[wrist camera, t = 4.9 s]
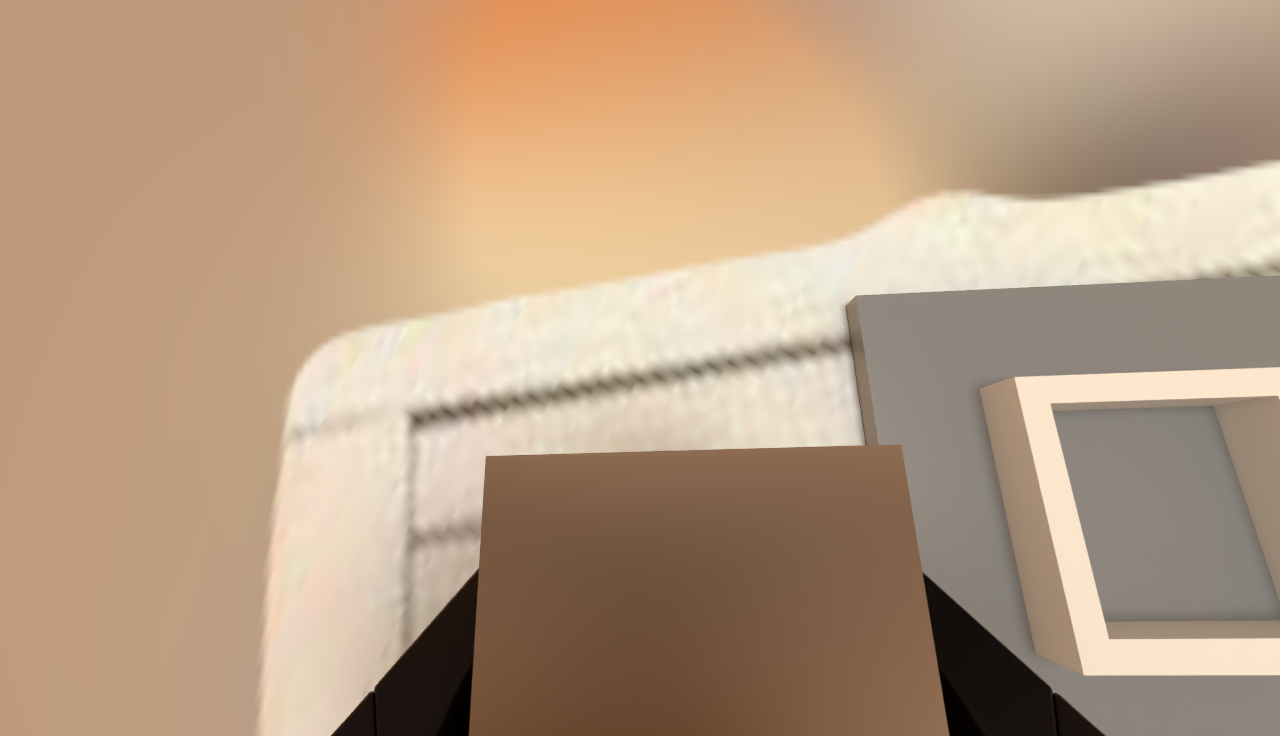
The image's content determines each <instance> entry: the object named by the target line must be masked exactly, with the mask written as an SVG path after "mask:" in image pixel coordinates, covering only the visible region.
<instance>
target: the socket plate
mask: <svg viewBox="0 0 1280 736" xmlns="http://www.w3.org/2000/svg"><path fill="white" fill-rule="evenodd" d="M846 309H847V316H848V323H849V330H850V337H851V344H852V351H853V358H854V364H855V371H856V378H857V385H858V392H859V399H860V406H861V413H862V420H863V426H864V433H865V440H866V445H900V444H901V445H902V451H903V457H904V464H905V470H906V476H907V482H908V488H909V494H910V500H911V506H912V512H913V518H914V524H915V530H916V536H917V542H918V549H919V555H920V561H921V567H922V571H923V572H924V573H925V574H926V575H927V576H928V577H929V578H930V579H931V580H933V581H934V582H935V583H936V584H937V585H938V586H939V587H940V588H941V589H943V590H944V591H945V592H946V593H947V594H948V595H949V596H950V597H951V598H953V599H954V600H955V601H956V602H957V603H958V604H959V605H960V606H961V607H963V608H964V609H965V610H966V611H967V612H968V613H969V614H970V615H971V616H973V617H974V618H975V619H976V620H977V621H978V622H979V623H980V624H981V625H983V626H984V627H985V628H986V629H987V630H988V631H989V632H990V633H992V634H993V635H994V636H995V637H996V638H997V639H998V640H999V641H1000V642H1002V643H1003V644H1004V645H1005V646H1006V647H1007V648H1008V649H1009V650H1010V651H1012V652H1013V653H1014V654H1015V655H1016V656H1017V657H1018V658H1019V659H1020V660H1022V661H1023V662H1024V663H1025V664H1026V665H1027V666H1028V667H1029V668H1030V669H1032V670H1033V671H1034V672H1035V673H1036V674H1037V675H1038V676H1039V677H1040V678H1042V679H1043V680H1044V681H1045V682H1046V683H1047V684H1048V685H1049V686H1050V687H1051V688H1052V690H1053V693H1058V694H1060V695H1061V696H1062V697H1063V698H1064V699H1065V700H1066V701H1067V702H1069V703H1070V704H1071V705H1072V706H1073V707H1074V708H1075V709H1076V710H1077V711H1079V712H1080V713H1081V714H1082V715H1083V716H1084V717H1085V718H1086V719H1088V720H1089V721H1090V722H1091V723H1092V724H1093V725H1094V726H1096V727H1097V728H1098V729H1099V730H1100V731H1101V732H1102V733H1104V734H1105V735H1106V736H1280V276H1262V277H1241V278H1220V279H1198V280H1177V281H1156V282H1135V283H1114V284H1093V285H1072V286H1051V287H1029V288H1008V289H987V290H966V291H945V292H924V293H903V294H882V295H860V296H855V297H854V298H853V299H852V301H851V302H850V303H849V304H848V305H847V306H846Z"/></svg>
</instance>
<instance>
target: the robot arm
mask: <svg viewBox="0 0 1280 736" xmlns="http://www.w3.org/2000/svg"><path fill="white" fill-rule="evenodd" d="M922 573H923V579H924V585H925V591H926V597H927V603H928V609H929V615H930V621H931V627H932V633H933V640H934V646H935V652H936V658H937V664H938V670H939V676H940V682H941V688H942V694H943V700H944V706H945V712H946V718H947V725H948V731H949V736H1106V735H1105V734H1104V733H1102V732H1101V731H1100V730H1099V729H1098V728H1097V727H1096V726H1094V725H1093V724H1092V723H1091V722H1090V721H1089V720H1088V719H1086V718H1085V717H1084V716H1083V715H1082V714H1081V713H1080V712H1079V711H1077V710H1076V709H1075V708H1074V707H1073V706H1072V705H1071V704H1070V703H1069V702H1067V701H1066V700H1065V699H1064V698H1063V697H1062V696H1061V695H1060V694H1058V693H1053V690H1052V688H1051V687H1050V686H1049V685H1048V684H1047V683H1046V682H1045V681H1044V680H1043V679H1042V678H1040V677H1039V676H1038V675H1037V674H1036V673H1035V672H1034V671H1033V670H1032V669H1030V668H1029V667H1028V666H1027V665H1026V664H1025V663H1024V662H1023V661H1022V660H1020V659H1019V658H1018V657H1017V656H1016V655H1015V654H1014V653H1013V652H1012V651H1010V650H1009V649H1008V648H1007V647H1006V646H1005V645H1004V644H1003V643H1002V642H1000V641H999V640H998V639H997V638H996V637H995V636H994V635H993V634H992V633H990V632H989V631H988V630H987V629H986V628H985V627H984V626H983V625H981V624H980V623H979V622H978V621H977V620H976V619H975V618H974V617H973V616H971V615H970V614H969V613H968V612H967V611H966V610H965V609H964V608H963V607H961V606H960V605H959V604H958V603H957V602H956V601H955V600H954V599H953V598H951V597H950V596H949V595H948V594H947V593H946V592H945V591H944V590H943V589H941V588H940V587H939V586H938V585H937V584H936V583H935V582H934V581H933V580H931V579H930V578H929V577H928V576H927V575H926V574H925V573H924V572H923V571H922ZM478 578H479V568H478V570H477V571H476V572H475V573H474V574H473V575H472V576H471V577H470V579H469V580H468V581H467V582H466V583H465V584H464V585H463V587H462V588H461V589H460V590H459V591H458V592H457V593H456V595H455V596H454V597H453V598H452V599H451V600H450V601H449V603H448V604H447V605H446V606H445V607H444V608H443V609H442V611H441V612H440V613H439V614H438V615H437V616H436V617H435V619H434V620H433V621H432V622H431V623H430V624H429V625H428V627H427V628H426V629H425V630H424V631H423V632H422V633H421V635H420V636H419V637H418V638H417V639H416V640H415V641H414V643H413V644H412V645H411V646H410V647H409V648H408V649H407V651H406V652H405V653H404V654H403V655H402V656H401V657H400V659H399V660H398V661H397V662H396V663H395V664H394V665H393V667H392V668H391V669H390V670H389V671H388V672H387V673H386V674H385V676H384V677H383V678H382V679H381V680H380V681H379V682H378V684H377V685H376V686H375V689H374V691H371V692H370V693H369V694H368V695H367V696H366V697H365V698H364V699H363V700H362V702H361V703H360V704H359V705H358V706H357V707H356V708H355V710H354V711H353V712H352V713H351V714H350V715H349V716H348V718H347V719H346V720H345V721H344V722H343V723H342V724H341V725H340V726H339V727H338V728H337V730H336V731H335V732H334V733H333V734H332V735H331V736H469V724H470V708H471V692H472V676H473V659H474V643H475V627H476V610H477V594H478Z"/></svg>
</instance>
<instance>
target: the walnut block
mask: <svg viewBox="0 0 1280 736" xmlns="http://www.w3.org/2000/svg"><path fill="white" fill-rule="evenodd" d="M469 736H949V731H948V725H947V718H946V712H945V706H944V700H943V694H942V688H941V682H940V676H939V670H938V664H937V658H936V652H935V646H934V640H933V633H932V627H931V621H930V615H929V609H928V603H927V597H926V591H925V585H924V579H923V573H922V567H921V561H920V555H919V549H918V542H917V536H916V530H915V524H914V518H913V512H912V506H911V500H910V494H909V488H908V482H907V476H906V470H905V464H904V457H903V451H902V445H901V444H900V445H865V446H829V447H794V448H759V449H724V450H689V451H653V452H618V453H583V454H548V455H512V456H486V464H485V480H484V496H483V513H482V529H481V545H480V561H479V578H478V594H477V610H476V627H475V643H474V659H473V676H472V692H471V708H470V724H469Z"/></svg>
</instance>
